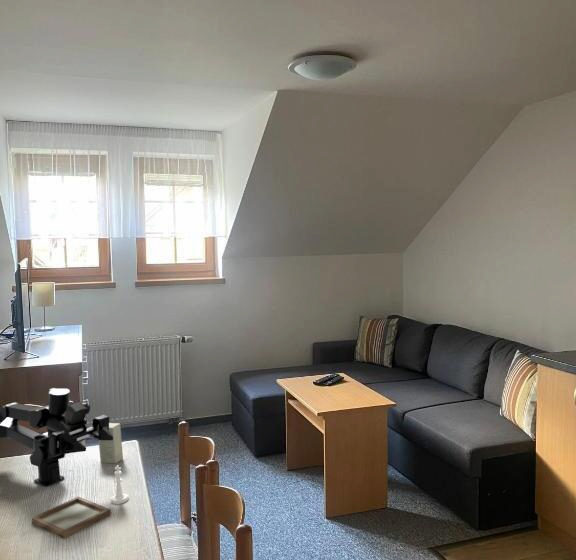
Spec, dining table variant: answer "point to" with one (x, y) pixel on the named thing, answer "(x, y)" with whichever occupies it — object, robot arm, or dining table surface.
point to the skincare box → (112, 445)
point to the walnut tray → (71, 517)
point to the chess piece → (119, 489)
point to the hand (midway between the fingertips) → (99, 443)
